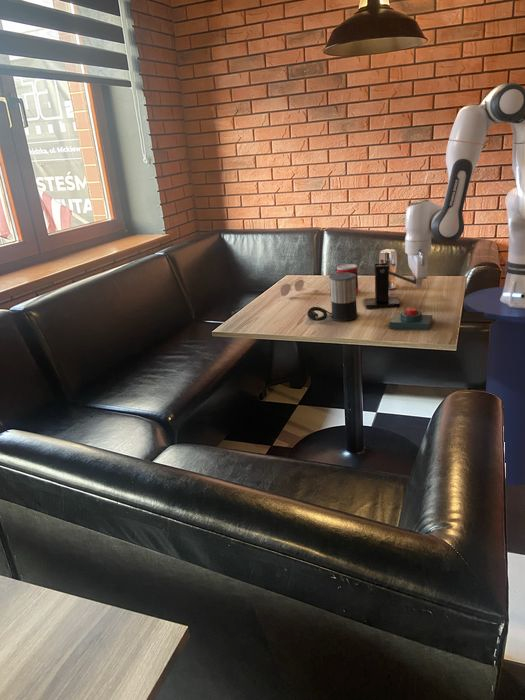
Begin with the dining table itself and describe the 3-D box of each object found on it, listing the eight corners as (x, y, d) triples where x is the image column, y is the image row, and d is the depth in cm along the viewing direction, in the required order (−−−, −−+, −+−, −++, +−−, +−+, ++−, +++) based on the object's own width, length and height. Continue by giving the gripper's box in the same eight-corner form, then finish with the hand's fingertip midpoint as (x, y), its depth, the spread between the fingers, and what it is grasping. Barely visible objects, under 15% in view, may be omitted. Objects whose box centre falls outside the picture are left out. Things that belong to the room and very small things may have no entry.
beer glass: (386, 284, 222) (385, 248, 217) (400, 286, 218) (400, 249, 212) (376, 288, 218) (375, 252, 213) (391, 290, 213) (390, 253, 208)
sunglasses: (304, 289, 227) (304, 278, 224) (317, 295, 221) (318, 284, 219) (278, 297, 219) (279, 285, 217) (292, 303, 213) (292, 291, 211)
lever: (416, 285, 196) (419, 279, 195) (418, 288, 191) (421, 282, 191) (375, 269, 196) (378, 263, 195) (377, 272, 191) (380, 266, 190)
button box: (432, 321, 174) (432, 309, 173) (428, 330, 167) (428, 318, 165) (395, 319, 179) (395, 308, 178) (389, 328, 172) (389, 316, 170)
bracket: (397, 299, 201) (397, 260, 196) (400, 306, 193) (400, 266, 187) (364, 301, 202) (363, 262, 197) (366, 308, 194) (365, 268, 189)
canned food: (339, 290, 220) (338, 264, 216) (359, 290, 218) (358, 263, 214) (336, 295, 213) (335, 268, 209) (357, 295, 211) (355, 268, 207)
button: (418, 312, 172) (418, 307, 172) (416, 316, 169) (416, 311, 169) (406, 312, 174) (406, 307, 173) (404, 315, 171) (404, 310, 170)
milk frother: (363, 316, 185) (362, 274, 180) (328, 327, 178) (325, 284, 173) (337, 309, 197) (335, 269, 192) (302, 319, 189) (299, 278, 184)
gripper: (432, 252, 179) (431, 292, 184) (422, 241, 198) (421, 278, 202) (413, 253, 180) (412, 293, 184) (405, 243, 198) (404, 279, 203)
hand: (417, 285), depth 194 cm, fingers closed on lever, 5 cm apart
